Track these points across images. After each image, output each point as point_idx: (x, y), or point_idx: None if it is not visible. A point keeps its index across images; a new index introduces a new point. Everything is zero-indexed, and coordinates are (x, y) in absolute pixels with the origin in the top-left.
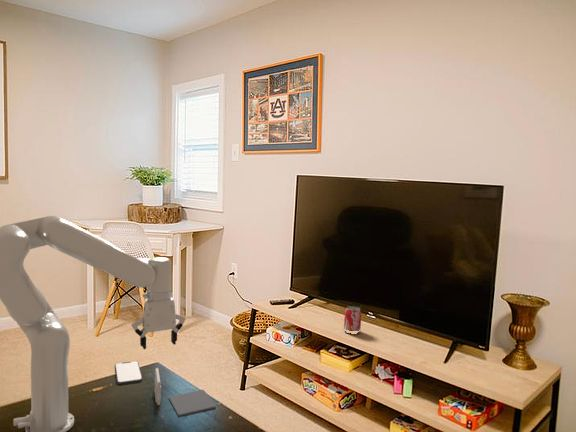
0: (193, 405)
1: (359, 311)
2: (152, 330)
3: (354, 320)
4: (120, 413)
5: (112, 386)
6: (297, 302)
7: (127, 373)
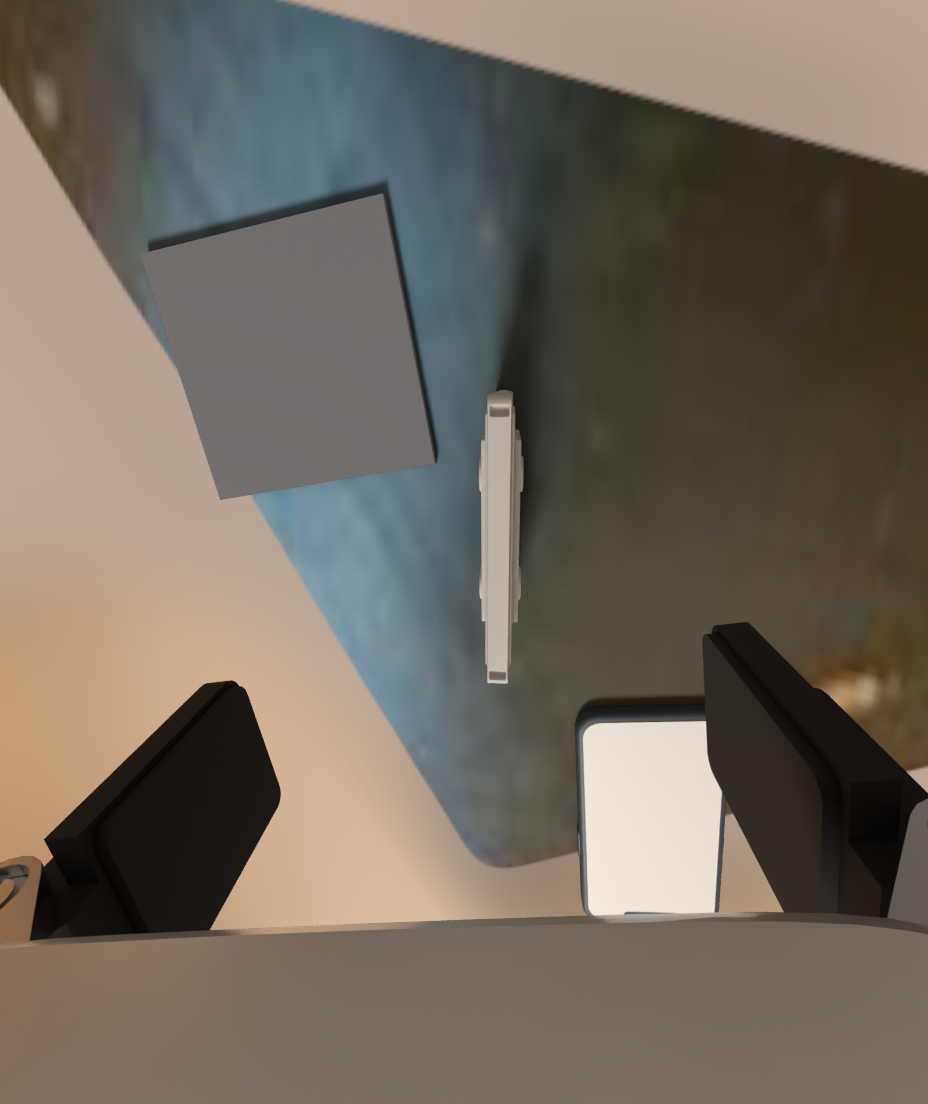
0: (282, 302)
1: None
2: (773, 963)
3: None
4: (758, 343)
5: None
6: None
7: (658, 802)
